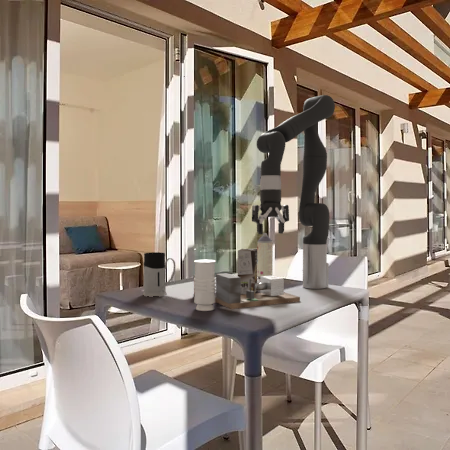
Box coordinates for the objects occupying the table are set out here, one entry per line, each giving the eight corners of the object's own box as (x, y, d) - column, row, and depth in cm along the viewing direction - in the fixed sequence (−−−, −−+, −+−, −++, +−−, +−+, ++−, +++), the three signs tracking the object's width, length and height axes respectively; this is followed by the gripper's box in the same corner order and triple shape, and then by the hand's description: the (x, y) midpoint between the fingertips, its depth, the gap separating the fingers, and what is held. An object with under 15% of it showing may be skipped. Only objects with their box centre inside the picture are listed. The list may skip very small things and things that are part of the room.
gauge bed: (280, 295, 163) (280, 268, 162) (299, 301, 152) (300, 273, 152) (214, 301, 152) (214, 273, 151) (230, 309, 141) (230, 278, 140)
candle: (198, 312, 137) (198, 262, 136) (190, 307, 143) (190, 260, 143) (219, 309, 140) (219, 261, 139) (211, 305, 146) (210, 259, 145)
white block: (272, 291, 158) (272, 275, 158) (283, 294, 152) (283, 278, 152) (251, 293, 155) (251, 277, 154) (261, 297, 148) (261, 280, 148)
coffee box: (254, 295, 163) (254, 250, 163) (237, 294, 165) (237, 250, 164) (257, 290, 172) (257, 248, 172) (241, 289, 173) (241, 248, 173)
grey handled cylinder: (154, 291, 171) (154, 251, 170) (183, 295, 163) (183, 253, 162) (137, 294, 164) (137, 253, 163) (166, 299, 155) (166, 256, 155)
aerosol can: (261, 275, 209) (261, 232, 208) (274, 277, 205) (275, 233, 204) (254, 277, 203) (254, 233, 202) (268, 279, 199) (268, 233, 199)
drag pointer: (249, 297, 148) (249, 278, 147) (254, 298, 145) (254, 279, 145) (246, 297, 147) (246, 278, 147) (250, 299, 144) (250, 279, 144)
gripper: (281, 189, 168) (281, 232, 169) (248, 188, 162) (248, 233, 163) (293, 188, 162) (293, 234, 162) (258, 188, 155) (258, 235, 156)
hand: (270, 233), depth 162 cm, fingers open, 8 cm apart
